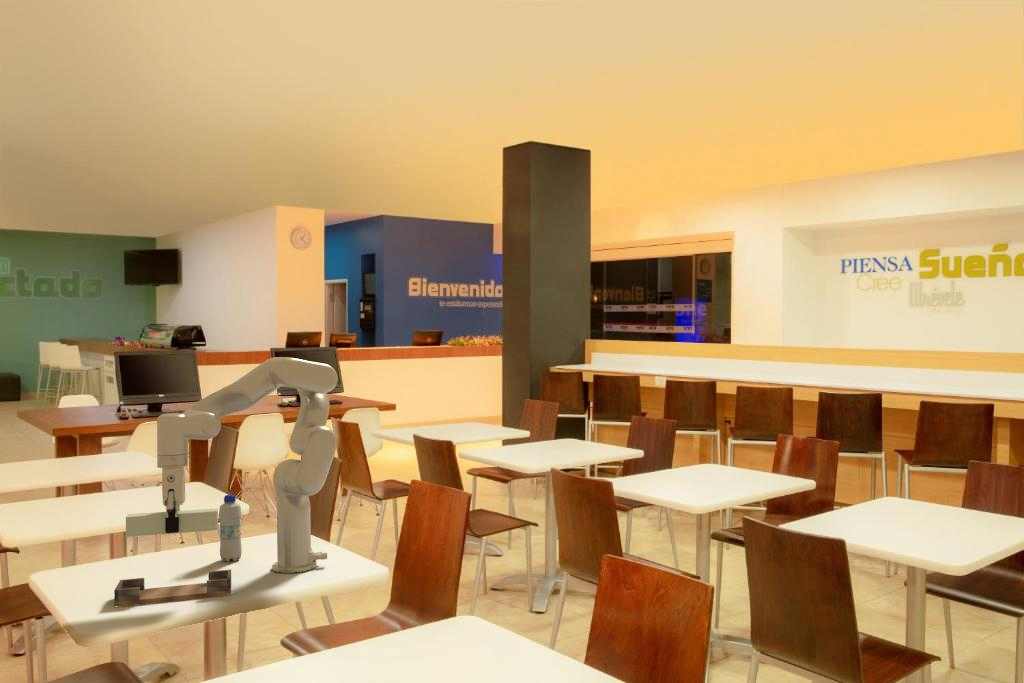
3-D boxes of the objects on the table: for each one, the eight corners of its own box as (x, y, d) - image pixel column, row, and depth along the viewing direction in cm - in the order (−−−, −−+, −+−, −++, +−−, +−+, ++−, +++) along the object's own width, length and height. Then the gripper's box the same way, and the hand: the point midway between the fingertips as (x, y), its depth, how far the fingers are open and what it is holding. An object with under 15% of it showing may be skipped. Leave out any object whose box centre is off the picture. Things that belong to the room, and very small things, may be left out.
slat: (217, 527, 219) (217, 508, 219) (217, 530, 215) (217, 511, 215) (128, 533, 212) (128, 514, 212) (125, 536, 209) (125, 517, 209)
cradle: (231, 584, 223) (231, 569, 223) (230, 595, 214) (230, 579, 214) (120, 595, 214) (120, 579, 214) (114, 607, 205) (114, 590, 205)
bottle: (238, 562, 245) (236, 496, 245) (215, 563, 245) (214, 496, 245) (245, 556, 252) (244, 492, 252) (224, 557, 252) (222, 492, 252)
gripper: (185, 464, 207) (185, 536, 207) (190, 456, 223) (190, 523, 223) (153, 465, 205) (153, 538, 205) (160, 457, 221) (161, 525, 221)
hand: (173, 529), depth 214 cm, fingers closed on slat, 4 cm apart
